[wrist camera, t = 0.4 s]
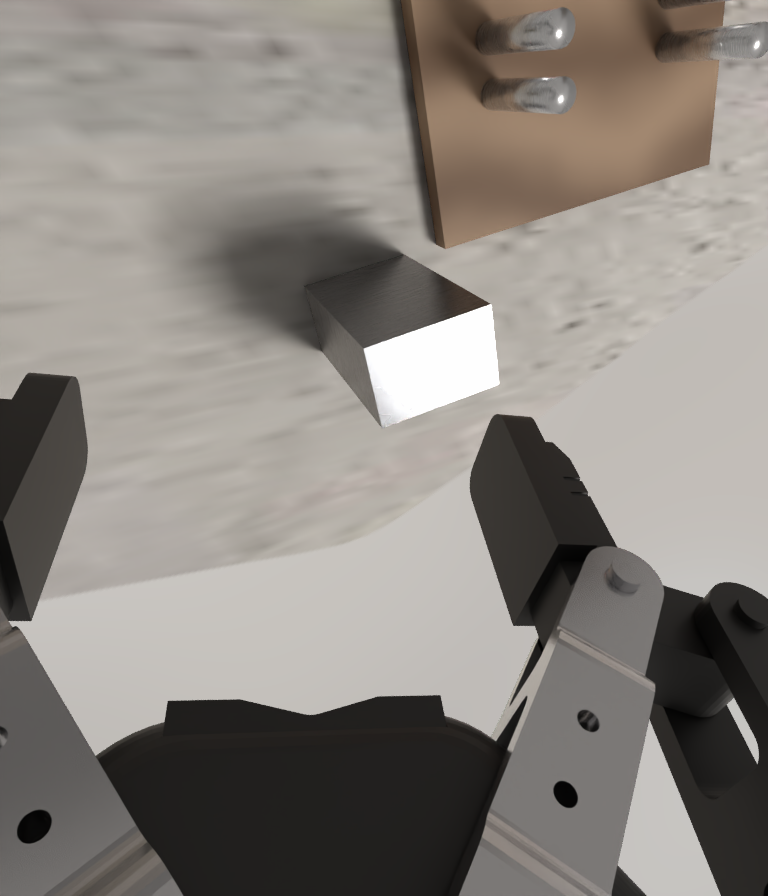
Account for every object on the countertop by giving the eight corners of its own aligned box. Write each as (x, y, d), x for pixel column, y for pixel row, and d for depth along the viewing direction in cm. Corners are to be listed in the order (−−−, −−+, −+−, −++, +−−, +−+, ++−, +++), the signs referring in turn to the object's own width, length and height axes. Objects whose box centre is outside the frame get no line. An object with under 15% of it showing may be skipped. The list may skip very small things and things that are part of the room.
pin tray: (381, -129, 26) (457, -192, 20) (723, -192, 30) (872, -261, 24) (436, 244, 35) (499, 275, 29) (694, 162, 38) (796, 175, 33)
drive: (304, 286, 33) (363, 348, 25) (405, 254, 35) (492, 303, 27) (322, 351, 36) (382, 428, 28) (416, 319, 37) (500, 383, 29)
